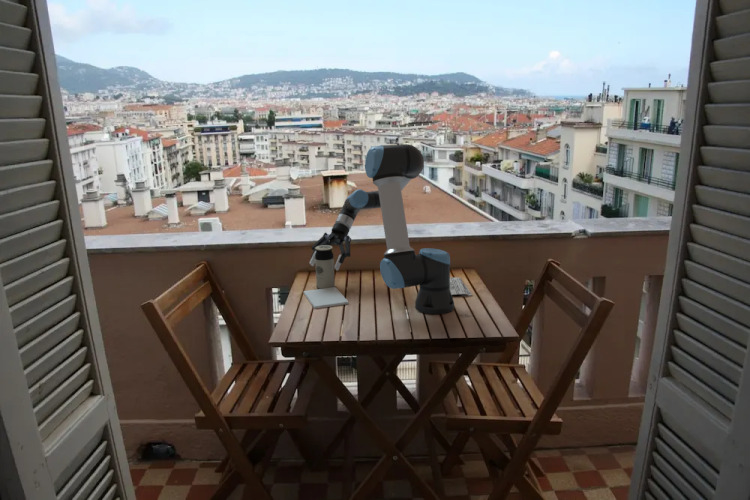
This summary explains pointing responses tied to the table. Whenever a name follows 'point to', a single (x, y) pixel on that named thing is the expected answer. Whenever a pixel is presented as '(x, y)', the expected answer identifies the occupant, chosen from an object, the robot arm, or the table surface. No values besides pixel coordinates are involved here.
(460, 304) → the table surface
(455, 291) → the newspaper
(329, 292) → the placemat
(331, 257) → the travel mug
